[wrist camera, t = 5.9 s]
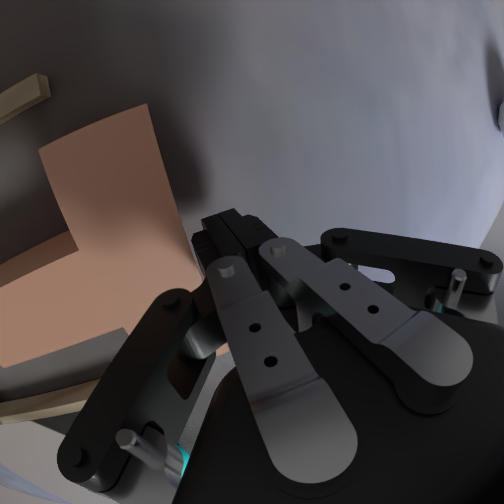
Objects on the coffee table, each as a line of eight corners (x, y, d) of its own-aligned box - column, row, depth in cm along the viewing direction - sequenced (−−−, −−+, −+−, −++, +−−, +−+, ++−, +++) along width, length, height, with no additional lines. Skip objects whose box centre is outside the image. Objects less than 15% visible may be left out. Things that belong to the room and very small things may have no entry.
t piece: (-54, 213, 8) (-83, 238, 5) (144, 105, 10) (146, 103, 8) (50, 372, 14) (47, 409, 12) (213, 315, 17) (229, 351, 14)
